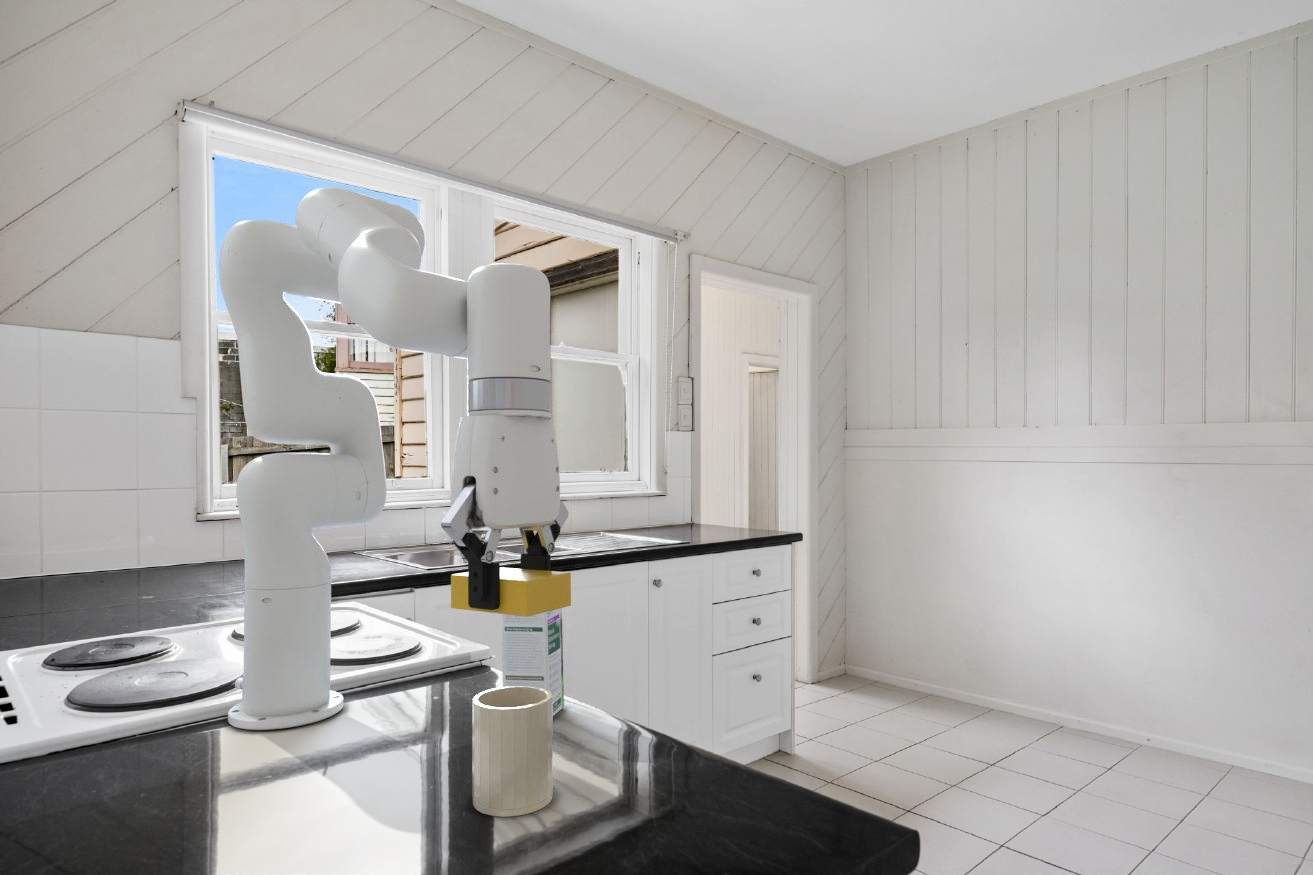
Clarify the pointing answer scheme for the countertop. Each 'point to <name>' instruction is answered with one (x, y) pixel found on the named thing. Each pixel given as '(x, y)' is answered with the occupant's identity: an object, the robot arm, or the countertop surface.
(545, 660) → the syrup box
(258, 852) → the countertop surface
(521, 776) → the cup
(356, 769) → the countertop surface
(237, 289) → the robot arm
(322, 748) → the countertop surface
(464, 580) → the block
